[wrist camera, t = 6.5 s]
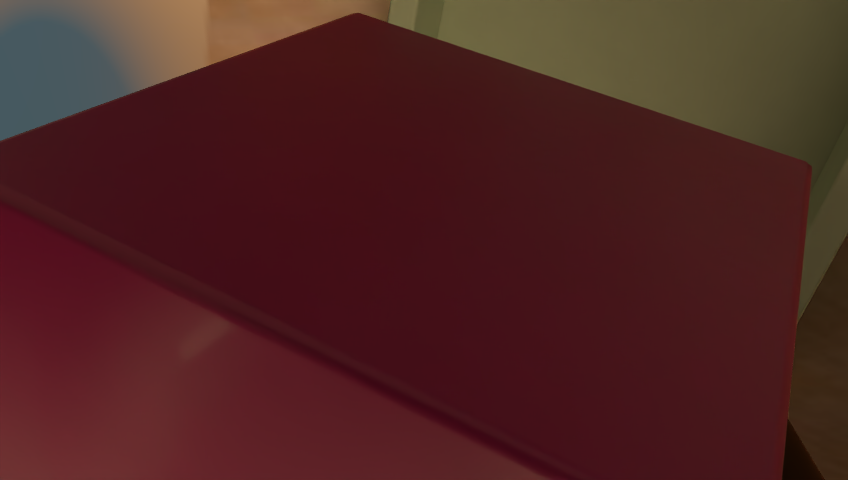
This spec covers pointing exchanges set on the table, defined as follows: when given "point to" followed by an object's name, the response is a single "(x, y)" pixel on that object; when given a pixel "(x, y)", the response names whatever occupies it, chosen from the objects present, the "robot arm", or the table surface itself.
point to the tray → (690, 74)
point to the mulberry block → (393, 277)
